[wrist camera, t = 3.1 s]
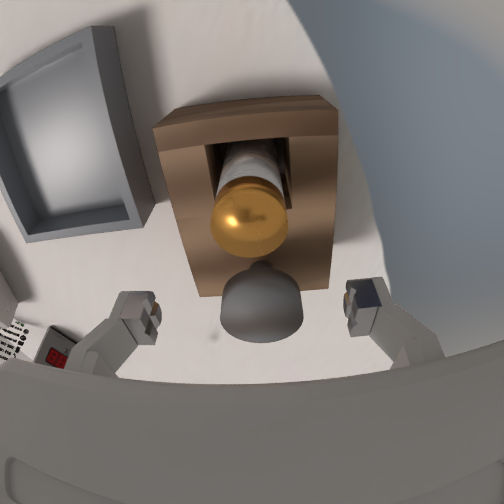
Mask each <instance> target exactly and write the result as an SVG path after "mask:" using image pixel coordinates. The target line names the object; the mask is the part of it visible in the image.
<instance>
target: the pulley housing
mask: <svg viewBox="0 0 504 504" xmlns="http://www.w3.org/2000/svg"><path fill="white" fill-rule="evenodd" d="M153 134H154V138H155V142H156V146H157V150H158V154H159V159H160V163H161V167H162V170H163V174H164V178H165V182H166V186H167V190H168V193H169V197H170V201H171V204H172V208H173V211H174V215H175V219H176V222H177V225H178V229H179V232H180V236H181V239H182V242H183V246H184V249H185V252H186V256H187V259H188V262H189V265H190V268H191V272H192V275H193V278H194V281H195V284H196V287H197V290H198V293H199V296H200V297H211V296H222V304H221V314H220V321H221V324H222V326H223V328H224V329H225V330H226V331H227V332H228V333H229V334H230V335H232V336H234V337H235V338H238V339H240V340H243V341H247V342H253V343H269V342H275V341H279V340H282V339H285V338H287V337H289V336H291V335H292V334H294V333H295V332H296V331H297V330H298V329H299V328H300V326H301V325H302V322H303V309H302V301H301V294H300V291H306V290H318V289H328V287H329V278H330V269H331V259H332V248H333V236H334V223H335V208H336V190H337V166H338V110H337V109H336V108H335V107H334V106H332V105H331V104H330V103H329V102H327V101H326V100H325V99H324V98H322V97H321V96H320V95H304V96H280V97H265V98H252V99H242V100H233V101H225V102H217V103H210V104H203V105H197V106H191V107H185V108H179V109H174V110H173V111H172V112H171V113H170V114H168V115H167V116H166V117H165V118H164V119H163V120H162V121H160V122H159V123H158V124H157V125H156V126H155V127H154V128H153ZM280 137H283V147H284V164H285V175H280V178H281V183H282V189H283V195H284V201H285V207H286V213H287V219H288V232H287V235H286V238H285V240H284V241H283V243H282V244H281V245H280V246H279V247H278V248H277V249H276V250H274V251H273V252H271V253H269V254H267V255H264V256H260V257H253V258H246V257H239V256H236V255H233V254H230V253H228V252H227V251H225V250H224V249H222V248H221V247H220V246H219V245H218V244H217V243H216V241H215V240H214V238H213V236H212V233H211V229H210V221H211V216H212V212H213V207H214V203H215V199H216V194H217V190H218V186H219V182H220V177H221V173H222V169H223V168H222V162H221V156H220V149H219V143H224V142H233V141H243V140H254V139H266V138H280Z"/></svg>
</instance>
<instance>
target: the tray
mask: <svg viewBox="0 0 504 504" xmlns="http://www.w3.org/2000/svg"><path fill="white" fill-rule="evenodd" d="M0 190H1V192H2V194H3V197H4V199H5V201H6V203H7V205H8V208H9V210H10V212H11V214H12V216H13V218H14V220H15V222H16V224H17V226H18V228H19V230H20V232H21V234H22V236H23V238H24V239H25V241H26V243H32V242H38V241H45V240H52V239H59V238H66V237H73V236H81V235H88V234H96V233H104V232H112V231H120V230H128V229H137V228H143V227H144V225H145V223H146V222H147V220H148V218H149V216H150V214H151V212H152V210H153V208H154V206H155V202H154V199H153V195H152V192H151V188H150V185H149V182H148V178H147V175H146V171H145V167H144V164H143V160H142V156H141V153H140V149H139V145H138V141H137V137H136V133H135V129H134V125H133V121H132V117H131V112H130V108H129V104H128V99H127V95H126V90H125V85H124V80H123V75H122V70H121V65H120V60H119V54H118V49H117V43H116V37H115V30H114V27H111V26H90V27H88V28H85V29H83V30H81V31H79V32H77V33H75V34H72V35H70V36H68V37H66V38H64V39H62V40H60V41H58V42H56V43H55V44H53V45H51V46H49V47H47V48H45V49H44V50H42V51H40V52H38V53H37V54H35V55H33V56H32V57H30V58H28V59H27V60H25V61H23V62H22V63H20V64H19V65H17V66H16V67H14V68H13V69H11V70H10V71H8V72H7V73H5V74H4V75H2V76H1V77H0Z"/></svg>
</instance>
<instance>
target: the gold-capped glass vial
mask: <svg viewBox="0 0 504 504" xmlns="http://www.w3.org/2000/svg"><path fill="white" fill-rule="evenodd" d="M210 229H211V233H212V236H213V238H214V240H215V241H216V243H217V244H218V245H219V246H220V247H221V248H222V249H224V250H225V251H227V252H228V253H230V254H233V255H236V256H239V257H246V258H253V257H260V256H264V255H267V254H269V253H271V252H273V251H274V250H276V249H277V248H278V247H279V246H280V245H281V244H282V243H283V241H284V240H285V238H286V235H287V232H288V219H287V213H286V207H285V201H284V195H283V189H282V183H281V178H280V172H279V166H278V161H277V156H276V150H275V145H274V141H273V139H272V138H266V139H254V140H243V141H233V142H229V145H228V149H227V153H226V157H225V161H224V165H223V169H222V173H221V177H220V182H219V186H218V190H217V194H216V199H215V203H214V207H213V212H212V216H211V221H210Z"/></svg>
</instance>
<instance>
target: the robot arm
mask: <svg viewBox="0 0 504 504" xmlns="http://www.w3.org/2000/svg"><path fill="white" fill-rule="evenodd" d="M346 290H347V292H346V293H345V294H344V300H343V307H344V313H345V316H346V317H347V318H348V324H347V325H348V329H349V333H350V337H357V336H367V335H370V337H371V338H372V339H373V341H374V342H375V343H376V344H377V345H378V346H379V347H380V348H381V349H382V350H383V351H384V352H385V353H386V354H387V355H388V356H389V357H390V359H391V360H392V361H393V362H394V363H393V364H392V366H391V368H390V370H386V371H380V372H374V373H368V374H361V375H354V376H347V377H339V378H331V379H322V380H311V381H300V382H286V383H268V384H185V383H167V382H154V381H142V380H132V379H123V378H119V377H118V376H117V375H116V374H115V372H116V371H117V370H118V369H119V368H120V366H121V365H122V364H123V363H124V362H125V360H126V359H127V358H128V357H129V356H130V355H131V353H132V352H133V351H134V350H135V349H136V348H137V346H138V345H155V342H156V339H157V335H158V332H157V330H156V328H157V327H158V326H159V325H160V323H161V317H162V313H161V308H160V306H159V304H158V303H156V302H155V298H156V297H155V295H154V293H153V292H151V291H122V292H120V293H119V295H118V297H117V300H116V302H115V304H114V307H113V309H112V312H111V314H110V317H109V319H105V320H104V321H103V322H101V323H100V324H99V325H98V326H97V327H96V328H94V329H93V330H92V331H91V332H90V333H89V334H88V335H86V336H85V337H84V338H83V339H82V340H81V341H80V342H78V343H77V344H76V345H75V346H74V347H73V348H72V349H71V352H70V354H69V357H68V359H67V362H66V364H65V367H64V369H60V368H55V367H50V366H46V365H41V364H37V363H33V362H28V361H24V360H21V359H17V358H9V359H8V360H6V361H5V362H4V363H2V364H1V365H0V504H504V340H502V341H499V342H496V343H493V344H490V345H487V346H483V347H480V348H478V349H474V350H470V351H467V352H464V353H460V354H457V355H453V356H449V357H445V356H444V353H443V350H442V348H441V345H440V343H439V340H438V338H437V336H436V334H435V333H434V332H432V331H431V330H430V329H428V328H427V327H426V326H425V325H423V324H422V323H421V322H419V321H418V320H417V319H416V318H414V317H413V316H412V315H410V314H409V313H408V312H406V311H405V310H404V309H402V308H401V307H400V306H398V305H394V303H393V301H392V298H391V296H390V293H389V291H388V289H387V286H386V284H385V282H384V279H383V278H382V277H374V278H364V279H354V280H347V282H346Z"/></svg>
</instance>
